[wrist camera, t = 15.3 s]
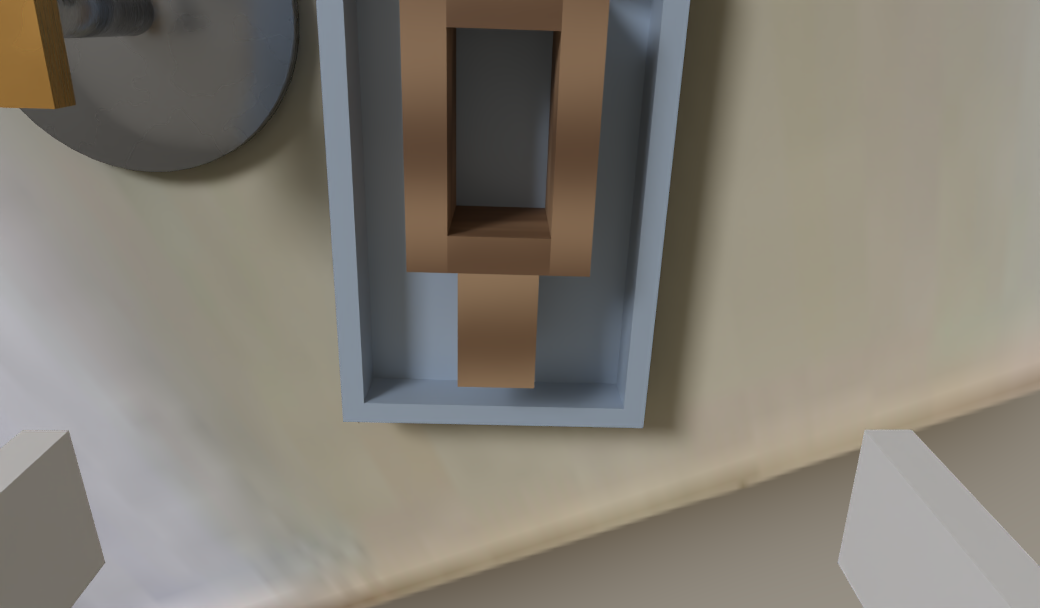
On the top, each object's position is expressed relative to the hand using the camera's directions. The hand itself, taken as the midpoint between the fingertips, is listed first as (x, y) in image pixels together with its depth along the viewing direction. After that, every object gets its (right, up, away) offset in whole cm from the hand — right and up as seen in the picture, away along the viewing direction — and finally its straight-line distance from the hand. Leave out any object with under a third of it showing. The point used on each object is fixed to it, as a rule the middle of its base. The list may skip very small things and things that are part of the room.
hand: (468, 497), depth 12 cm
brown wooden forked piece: (0, +9, +20) cm, 22 cm away
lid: (-15, +15, +17) cm, 28 cm away
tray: (0, +8, +20) cm, 22 cm away
